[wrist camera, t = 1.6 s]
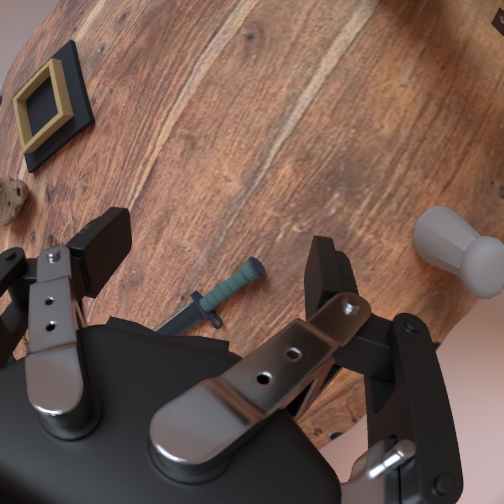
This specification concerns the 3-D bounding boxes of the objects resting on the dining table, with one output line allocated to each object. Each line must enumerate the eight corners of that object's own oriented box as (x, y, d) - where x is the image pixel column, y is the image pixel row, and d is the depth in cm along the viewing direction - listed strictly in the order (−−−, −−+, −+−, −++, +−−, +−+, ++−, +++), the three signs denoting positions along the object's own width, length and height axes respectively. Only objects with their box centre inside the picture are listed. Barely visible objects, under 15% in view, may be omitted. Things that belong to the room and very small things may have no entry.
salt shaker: (403, 255, 29) (452, 314, 16) (408, 200, 27) (469, 228, 15) (450, 258, 28) (512, 312, 15) (457, 205, 26) (530, 234, 14)
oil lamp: (33, 166, 34) (8, 170, 29) (39, 216, 36) (15, 224, 31) (-6, 183, 37) (-27, 188, 32) (0, 225, 39) (-21, 232, 34)
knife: (242, 252, 30) (274, 293, 30) (249, 247, 31) (279, 285, 31) (123, 349, 38) (145, 376, 38) (131, 342, 40) (153, 369, 40)
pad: (74, 41, 28) (60, 36, 25) (95, 121, 31) (79, 120, 28) (17, 97, 32) (4, 96, 29) (33, 172, 34) (18, 174, 32)
